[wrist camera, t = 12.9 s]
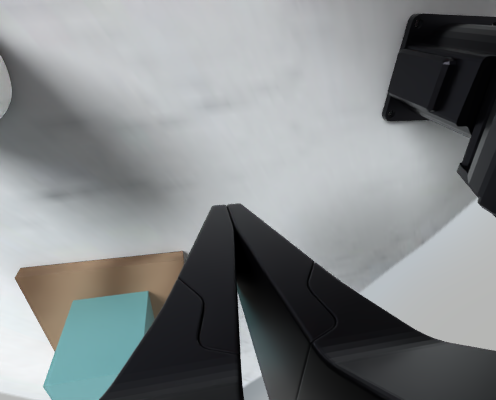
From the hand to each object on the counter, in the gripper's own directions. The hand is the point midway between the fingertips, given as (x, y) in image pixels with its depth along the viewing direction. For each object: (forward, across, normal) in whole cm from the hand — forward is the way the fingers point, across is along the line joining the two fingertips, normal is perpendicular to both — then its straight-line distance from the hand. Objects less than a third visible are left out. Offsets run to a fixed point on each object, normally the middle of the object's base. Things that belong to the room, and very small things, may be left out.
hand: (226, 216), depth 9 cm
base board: (+12, +8, +18) cm, 23 cm away
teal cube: (+11, +8, +18) cm, 22 cm away
